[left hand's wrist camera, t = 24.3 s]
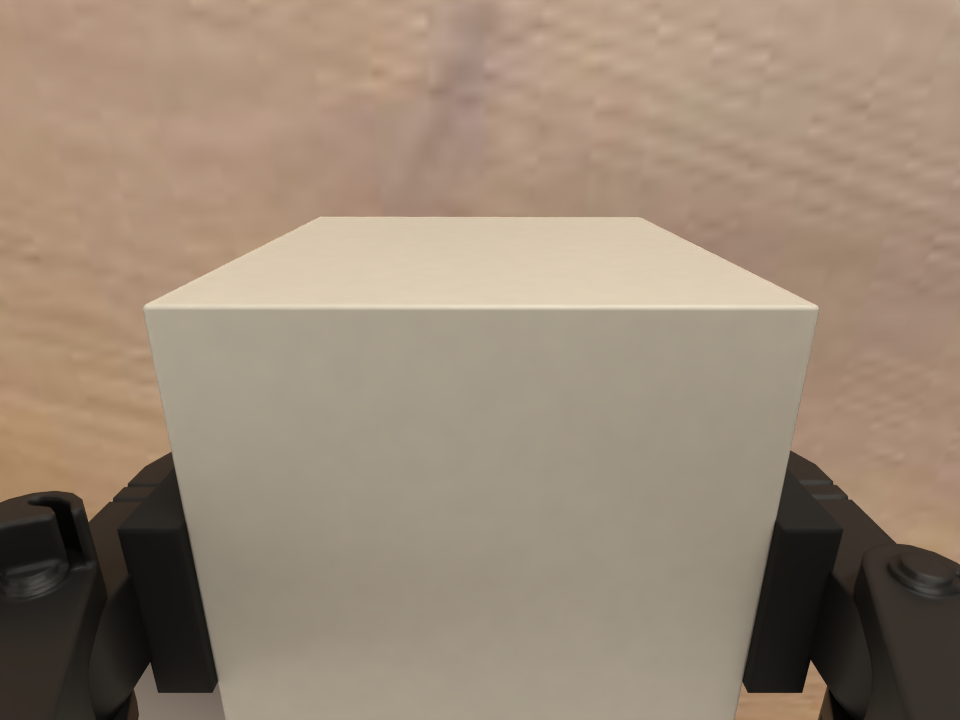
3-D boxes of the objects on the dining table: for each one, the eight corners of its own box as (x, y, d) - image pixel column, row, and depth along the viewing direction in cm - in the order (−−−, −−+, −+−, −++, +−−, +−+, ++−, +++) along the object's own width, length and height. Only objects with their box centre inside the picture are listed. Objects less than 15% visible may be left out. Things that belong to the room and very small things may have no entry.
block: (345, 514, 17) (241, 807, 9) (318, 216, 14) (139, 304, 7) (613, 514, 17) (718, 807, 9) (641, 216, 14) (822, 305, 7)
